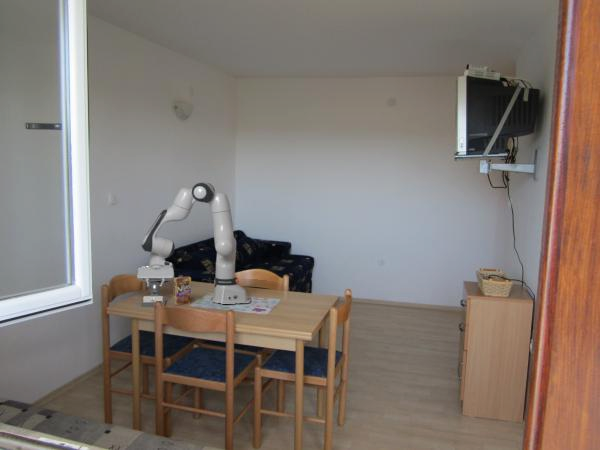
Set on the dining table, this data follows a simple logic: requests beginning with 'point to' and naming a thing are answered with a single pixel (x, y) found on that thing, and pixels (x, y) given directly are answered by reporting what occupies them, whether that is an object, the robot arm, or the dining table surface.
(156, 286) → the steel weight
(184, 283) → the candy box
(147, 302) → the scale
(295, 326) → the dining table surface
